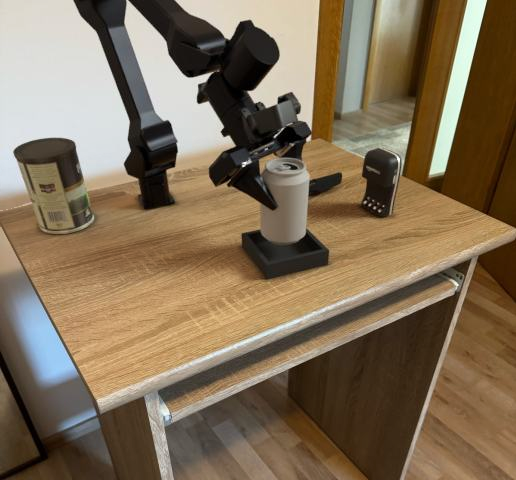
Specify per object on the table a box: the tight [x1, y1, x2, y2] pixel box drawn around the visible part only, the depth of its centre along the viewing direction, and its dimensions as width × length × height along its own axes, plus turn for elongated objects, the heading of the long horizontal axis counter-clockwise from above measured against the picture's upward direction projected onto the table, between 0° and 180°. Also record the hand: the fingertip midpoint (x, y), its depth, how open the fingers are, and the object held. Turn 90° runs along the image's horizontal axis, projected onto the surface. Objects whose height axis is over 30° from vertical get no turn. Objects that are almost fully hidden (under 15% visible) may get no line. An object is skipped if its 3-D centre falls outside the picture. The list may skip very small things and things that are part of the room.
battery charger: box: [360, 147, 403, 217], centre depth 91 cm, size 7×4×11 cm, turn 32°
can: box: [259, 157, 311, 245], centre depth 77 cm, size 8×8×12 cm
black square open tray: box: [240, 227, 330, 280], centre depth 82 cm, size 11×11×3 cm
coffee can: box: [12, 137, 95, 235], centre depth 89 cm, size 10×10×14 cm
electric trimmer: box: [308, 171, 343, 196], centre depth 100 cm, size 4×16×3 cm, turn 122°
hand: (290, 200), depth 75 cm, fingers closed on can, 7 cm apart
